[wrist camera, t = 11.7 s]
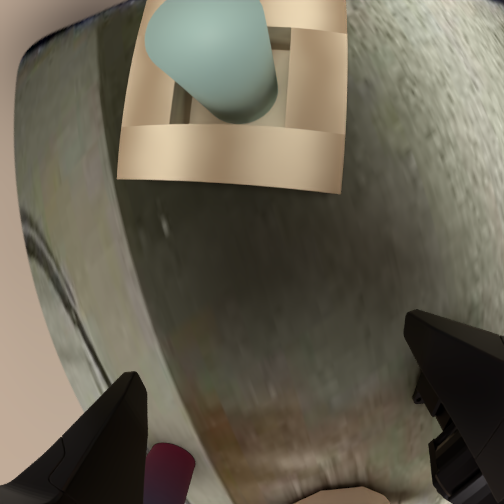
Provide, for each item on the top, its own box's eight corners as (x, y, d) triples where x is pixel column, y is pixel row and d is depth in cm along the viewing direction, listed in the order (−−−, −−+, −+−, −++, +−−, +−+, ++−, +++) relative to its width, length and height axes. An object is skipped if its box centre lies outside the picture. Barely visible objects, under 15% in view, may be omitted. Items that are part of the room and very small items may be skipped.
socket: (337, 24, 17) (345, -5, 13) (330, 193, 19) (340, 194, 15) (167, 23, 18) (147, 0, 14) (145, 179, 21) (116, 178, 17)
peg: (291, 76, 17) (287, 1, 9) (253, 137, 19) (219, 94, 10) (228, 48, 17) (187, -27, 9) (190, 105, 19) (123, 55, 10)
